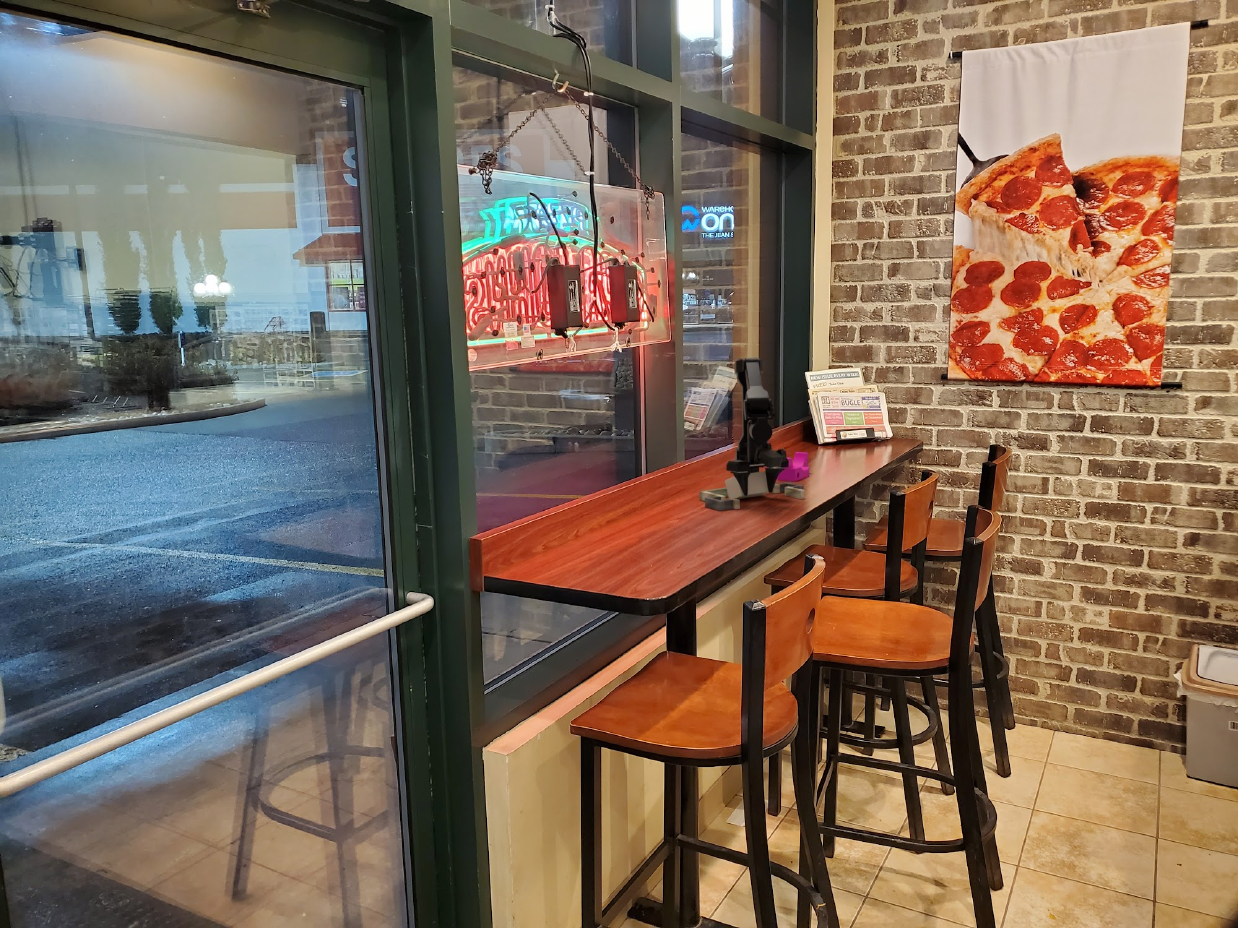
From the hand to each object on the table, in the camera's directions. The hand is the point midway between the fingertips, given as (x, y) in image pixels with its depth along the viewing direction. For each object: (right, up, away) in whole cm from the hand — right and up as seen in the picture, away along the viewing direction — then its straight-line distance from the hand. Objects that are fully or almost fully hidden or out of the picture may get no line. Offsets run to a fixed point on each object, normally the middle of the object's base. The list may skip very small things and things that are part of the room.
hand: (758, 494), depth 267 cm
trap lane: (-1, -2, +3) cm, 4 cm away
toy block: (+18, +4, +37) cm, 41 cm away
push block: (-1, -1, +3) cm, 4 cm away
